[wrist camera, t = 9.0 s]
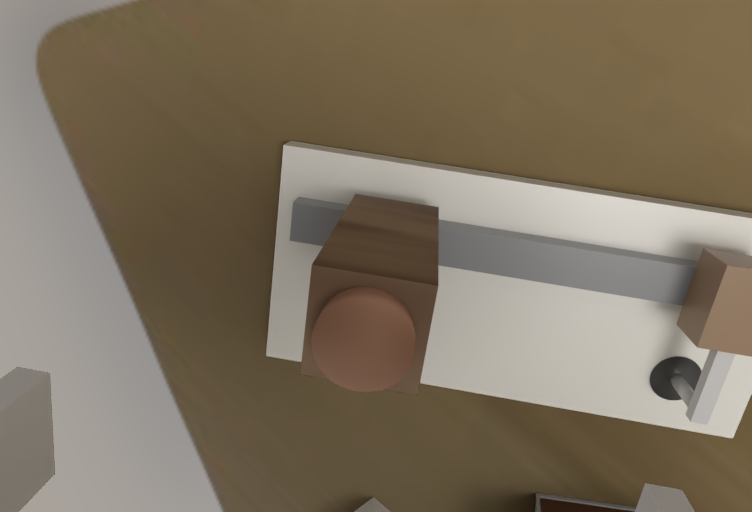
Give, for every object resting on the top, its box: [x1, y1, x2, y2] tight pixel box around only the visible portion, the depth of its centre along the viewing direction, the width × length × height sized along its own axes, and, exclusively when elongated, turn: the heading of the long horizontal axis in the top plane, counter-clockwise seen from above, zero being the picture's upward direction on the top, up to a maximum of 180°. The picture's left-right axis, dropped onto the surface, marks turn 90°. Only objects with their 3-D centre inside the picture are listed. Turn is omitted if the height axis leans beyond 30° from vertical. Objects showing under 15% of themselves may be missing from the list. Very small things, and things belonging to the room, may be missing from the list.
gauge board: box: [266, 141, 752, 438], centre depth 29 cm, size 12×26×5 cm, turn 82°
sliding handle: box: [300, 194, 439, 396], centre depth 24 cm, size 8×4×12 cm, turn 172°
